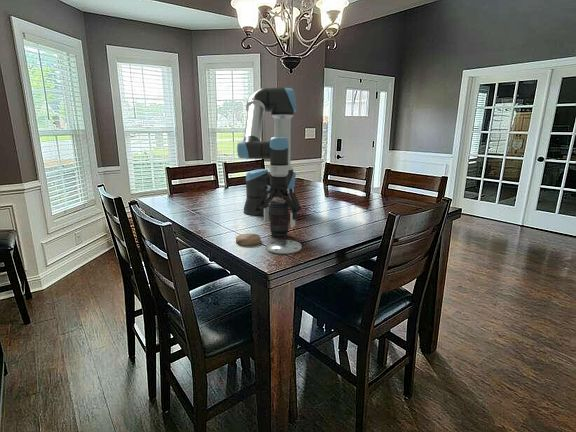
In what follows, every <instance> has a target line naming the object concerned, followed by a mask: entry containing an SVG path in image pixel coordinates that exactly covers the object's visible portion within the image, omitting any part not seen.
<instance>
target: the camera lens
mask: <svg viewBox="0 0 576 432" xmlns="http://www.w3.org/2000/svg"><path fill="white" fill-rule="evenodd" d="M289 210H290V207H289V206H288V204H287V203H286V201H285V200H272V201H271V202H270V213H269V228H270V234H271V236H272V238H275V239H284V238H286V237H287V236H288V233H289V228H290V227H289V226H290V225H289V214H290V213H289Z"/></svg>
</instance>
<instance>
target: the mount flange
mask: <svg viewBox="0 0 576 432" xmlns="http://www.w3.org/2000/svg"><path fill="white" fill-rule="evenodd" d="M302 246H303V245H302V243H300V242H299V241H296V240H291V239H276V240H271V241H269V242H267V243H266V244H265V250H266V251H267V252H268V253H270V254H273V255H274V254H275V255H284V256H285V255H293V254H296V253H299V252H300V251H301V250H302V249H303V248H302Z"/></svg>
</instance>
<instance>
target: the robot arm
mask: <svg viewBox="0 0 576 432" xmlns="http://www.w3.org/2000/svg"><path fill="white" fill-rule="evenodd" d="M296 101H297V100H296V93H295V90H294V89H293V88H291V87H262V88H259V89H257V90H255V91H254V92H253V93H252V94H251V95H250V96H249V97H248V100H247V101H246V104H245V110H246V121H245V127H244V135H243V140H241V141H240V140H239V141H238V142H237V147H236V152H237V153H236V154H237V156H238V158H239V159H246V160H248V159H249V160H250V159H251V160H252V159H253V160H257V159H261V160H263V159H265V160H270V162H269V163H270V164H269V165H270V166H269V167H270V168H269V170H268V169H267V168H260V169H259V168H258V169H253V170H250V171H247V172H246V173H245V185H246V186H245V187H246V188H245V189H246V194H245V195H246V199H245V203H244V206H243V213H244V214H245V215H249V216H263V223H264V224H266V223H270V202H272V201H273V199H274V198H279V199H281V198H282V199H283V201H286V203H287V204H288V206H289V210H291V211H290V213H289V214H290V217H289V220H290V223H289V224H290V225H289V226H290V227H289V228H294V227H296V220H297V218H298V212H300V211H301V210H302V207H301V205H300V202H299V199H298V197H297V195H296V190H295V183H296V176H297V175H296V174H297V173H296V171H294V167H292V165H291V148H292V147H291V145H292V143H291V140H292V139H291V137H292V136H291V129H292V127H291V125H292V123H291V122H292V121H291V120H292V118H293V117H294V115H295V114H294V113H296V112H297V104H296ZM267 112H268V113H271V117H272V118H273V123H274V124H273V128H274V129H273V130H274V131H273V134H274V135H273V137H270V139H269V141H267V140H265V141H261V137H262V127H263V117H264V114H265V113H267Z"/></svg>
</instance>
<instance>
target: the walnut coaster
mask: <svg viewBox="0 0 576 432" xmlns="http://www.w3.org/2000/svg"><path fill="white" fill-rule="evenodd" d="M261 241H262V240H261V236H260V234H257V233H242V234H238V235H237V236H235V244H236V245H237V244H238V246H241V247H255V246H257V245H259V244H261Z"/></svg>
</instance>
